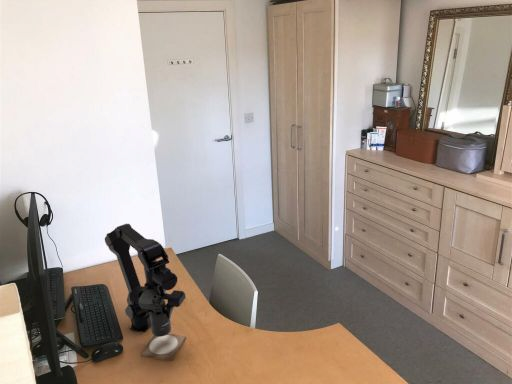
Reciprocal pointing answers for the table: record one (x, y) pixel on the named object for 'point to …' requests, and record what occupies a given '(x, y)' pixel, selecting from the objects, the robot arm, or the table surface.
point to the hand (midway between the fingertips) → (160, 316)
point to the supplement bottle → (160, 320)
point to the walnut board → (163, 347)
